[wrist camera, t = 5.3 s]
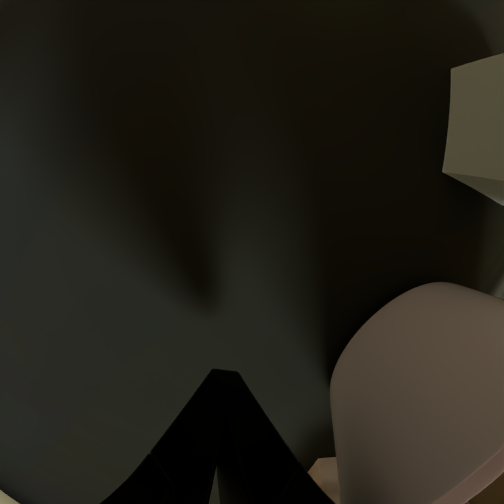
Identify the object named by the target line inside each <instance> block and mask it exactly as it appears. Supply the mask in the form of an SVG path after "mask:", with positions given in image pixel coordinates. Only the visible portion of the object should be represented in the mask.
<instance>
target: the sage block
mask: <svg viewBox="0 0 504 504" xmlns="http://www.w3.org/2000/svg"><path fill="white" fill-rule="evenodd" d="M442 172H443V173H445V174H447V175H449V176H451V177H453V178H455V179H457V180H459V181H460V182H462V183H464V184H466V185H468V186H470V187H472V188H473V189H475V190H477V191H479V192H480V193H482V194H484V195H486V196H487V197H489V198H491V199H492V200H494V201H496V202H497V203H499V204H500V205H502V206H504V53H503V54H499V55H495V56H491V57H488V58H484V59H481V60H477V61H474V62H471V63H467V64H464V65H461V66H458V67H455V68H452V69H451V93H450V111H449V124H448V133H447V142H446V149H445V156H444V163H443V169H442Z"/></svg>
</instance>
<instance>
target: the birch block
mask: <svg viewBox="0 0 504 504" xmlns="http://www.w3.org/2000/svg"><path fill="white" fill-rule="evenodd" d="M308 473H309V475H310V476H311V477H312V478H313V480H314V481H315V482H316V483H317V484H318V486H319V487H320V488H321V489H322V490H323V491H324V492H325V493H326V494H327V495H328V496H329V497H330V498H331V499H332V500H333V501H334V502H335V503H336V504H340V502H339V488H338V475H337V464H336V457H329V458H318V459H317V461H316V462H315V463H314V465H313V466H312V467H311V468H310V470H309V471H308Z"/></svg>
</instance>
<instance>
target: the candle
mask: <svg viewBox="0 0 504 504" xmlns="http://www.w3.org/2000/svg"><path fill="white" fill-rule="evenodd" d="M330 407H331V416H332V425H333V435H334V444H335V454H336V464H337V475H338V488H339V502H340V504H464V503H465V502H467V501H468V500H470V499H471V498H473V497H474V496H475V495H477V494H478V493H479V492H481V491H482V490H483V489H485V488H486V487H487V486H488V485H489V484H491V483H492V482H493V481H494V480H495V479H497V478H498V477H499V476H500V475H501V474H502V473H503V472H504V300H503V299H500V298H497V297H494V296H492V295H489V294H486V293H483V292H480V291H477V290H474V289H471V288H468V287H465V286H462V285H458V284H454V283H449V282H433V283H428V284H424V285H421V286H418V287H415V288H413V289H411V290H409V291H407V292H405V293H403V294H401V295H399V296H398V297H396V298H395V299H393V300H392V301H390V302H389V303H387V304H386V305H385V306H383V307H382V308H381V309H380V310H378V311H377V312H376V313H375V314H374V315H373V316H372V317H371V318H370V319H369V320H368V321H367V322H366V323H365V324H364V325H363V326H362V327H361V328H360V329H359V330H358V331H357V332H356V334H355V335H354V336H353V337H352V339H351V340H350V341H349V343H348V344H347V346H346V347H345V349H344V350H343V352H342V354H341V355H340V357H339V359H338V361H337V363H336V366H335V368H334V371H333V374H332V378H331V383H330Z"/></svg>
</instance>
